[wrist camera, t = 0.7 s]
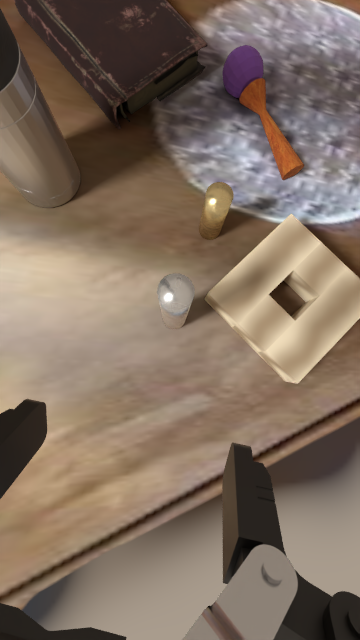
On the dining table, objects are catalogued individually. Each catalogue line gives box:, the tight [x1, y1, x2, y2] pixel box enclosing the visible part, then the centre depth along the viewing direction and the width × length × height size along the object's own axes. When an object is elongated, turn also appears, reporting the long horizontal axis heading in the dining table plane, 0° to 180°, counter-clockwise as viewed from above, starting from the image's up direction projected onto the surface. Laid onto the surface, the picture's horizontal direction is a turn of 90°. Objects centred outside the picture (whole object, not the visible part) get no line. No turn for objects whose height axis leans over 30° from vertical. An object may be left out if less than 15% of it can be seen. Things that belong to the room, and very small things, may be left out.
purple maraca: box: [223, 45, 304, 180], centre depth 43 cm, size 6×6×20 cm
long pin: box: [157, 273, 195, 329], centre depth 32 cm, size 3×3×16 cm
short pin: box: [199, 182, 233, 240], centre depth 38 cm, size 3×3×9 cm
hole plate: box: [204, 214, 360, 384], centre depth 39 cm, size 16×16×4 cm
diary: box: [15, 0, 207, 129], centre depth 44 cm, size 19×25×5 cm
